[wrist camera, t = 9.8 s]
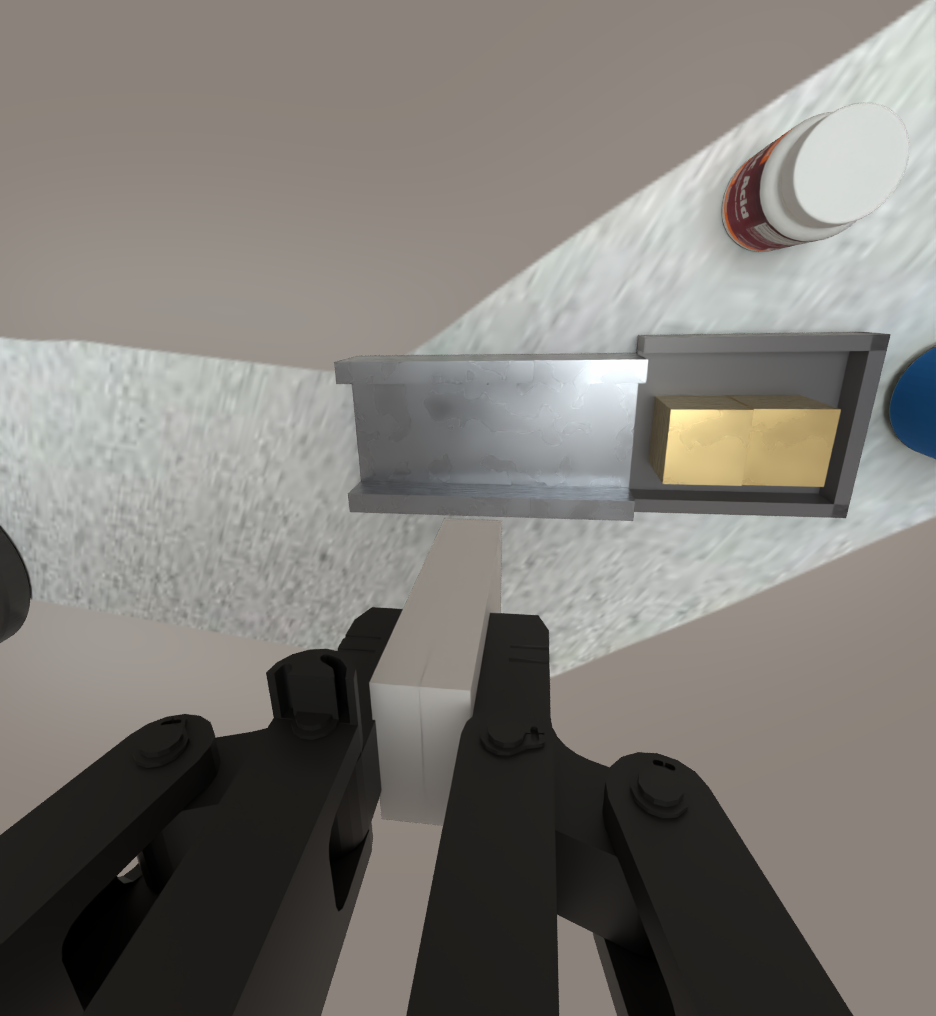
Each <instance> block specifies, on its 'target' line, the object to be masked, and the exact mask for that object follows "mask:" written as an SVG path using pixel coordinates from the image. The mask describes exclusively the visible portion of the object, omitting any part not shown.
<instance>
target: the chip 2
mask: <svg viewBox="0 0 936 1016" xmlns="http://www.w3.org/2000/svg"><path fill="white" fill-rule="evenodd" d="M727 396H728V397H730V398H732V399H734V400H736V401H738V402H740V403H742V404H744V405H746V406H748V407H749V408H751V409H753V410H754V414H753V420H752V426H751V432H750V438H749V444H748V450H747V456H746V462H745V468H744V474H743V480H742V485H763V486H807V487H824V484H825V479H826V475H827V470H828V466H829V461H830V457H831V452H832V448H833V443H834V439H835V434H836V430H837V425H838V421H839V416H840V412H841V409H838V408H836V407H833V406H830V405H827V404H824V403H822V402H819V401H816V400H813V399H810V398H808V397H805V396H802V395H727Z"/></svg>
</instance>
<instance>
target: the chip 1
mask: <svg viewBox="0 0 936 1016" xmlns="http://www.w3.org/2000/svg"><path fill="white" fill-rule="evenodd" d="M753 414H754V410H753V409H751V408H749V407H748V406H746V405H744V404H742V403H740V402H738V401H736V400H734V399H732V398H730V397H728V396H655V400H654V410H653V420H652V430H651V440H650V450H649V460H648V462H649V463H650V465H651V466H652V468H653V470H654V471H655V473H656V474H657V476H658V477H659V479H660V481H661V482H662V484H684V485H728V486H742V480H743V474H744V468H745V462H746V456H747V450H748V444H749V438H750V432H751V426H752V420H753Z"/></svg>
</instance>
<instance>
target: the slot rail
mask: <svg viewBox="0 0 936 1016" xmlns="http://www.w3.org/2000/svg"><path fill="white" fill-rule="evenodd" d="M334 364H335V374H336V384H352V390H353V401H354V411H355V422H356V432H357V443H358V453H359V464H360V474H361V482H360V483H359V484H358V485H357V486H356V487H355V488H353V489H352V490H351V491H350V492H349V493H348V499H349V508H350V512H366V513H398V514H430V515H462V516H493V517H525V518H557V519H589V520H621V521H633V517H634V507H635V500H634V498H633V496H632V493H631V491H630V489H629V481H630V469H631V458H632V447H633V435H634V424H635V413H636V401H637V390H638V383H646V378H647V367H648V359H646V358H644V357H643V356H641V355H639V354H637V353H597V354H496V355H396V356H356V357H352V358H348V359H344V360H340V361H337V362H334Z"/></svg>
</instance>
